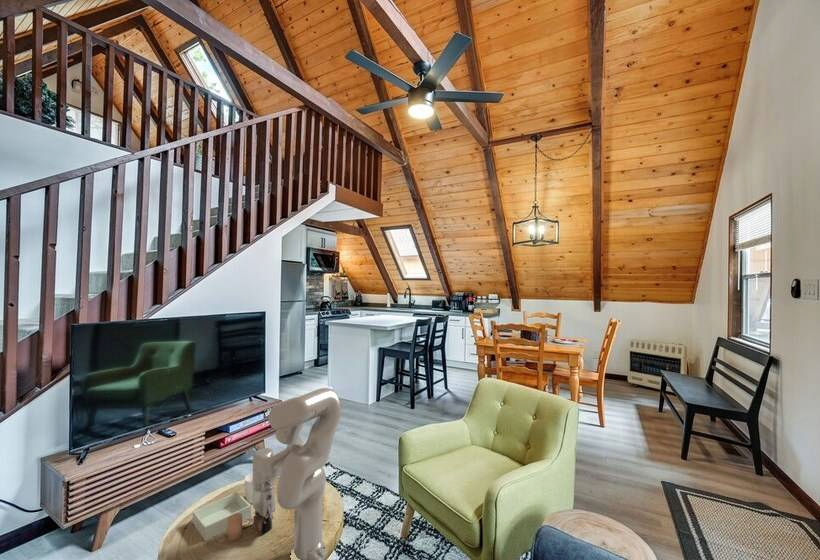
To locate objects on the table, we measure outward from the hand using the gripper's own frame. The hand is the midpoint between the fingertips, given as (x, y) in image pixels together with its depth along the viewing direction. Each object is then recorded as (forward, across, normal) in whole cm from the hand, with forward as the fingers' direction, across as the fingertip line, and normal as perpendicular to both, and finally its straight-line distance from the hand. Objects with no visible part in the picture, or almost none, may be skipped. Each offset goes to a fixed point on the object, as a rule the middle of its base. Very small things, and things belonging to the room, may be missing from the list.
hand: (262, 527), depth 141 cm
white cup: (+1, +20, -6) cm, 21 cm away
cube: (+1, 0, 0) cm, 1 cm away
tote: (0, +16, +9) cm, 18 cm away
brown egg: (+1, +4, +9) cm, 10 cm away
